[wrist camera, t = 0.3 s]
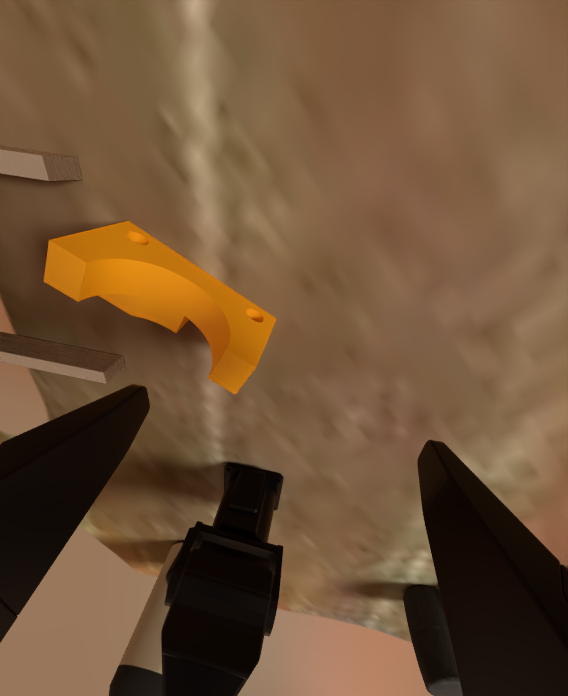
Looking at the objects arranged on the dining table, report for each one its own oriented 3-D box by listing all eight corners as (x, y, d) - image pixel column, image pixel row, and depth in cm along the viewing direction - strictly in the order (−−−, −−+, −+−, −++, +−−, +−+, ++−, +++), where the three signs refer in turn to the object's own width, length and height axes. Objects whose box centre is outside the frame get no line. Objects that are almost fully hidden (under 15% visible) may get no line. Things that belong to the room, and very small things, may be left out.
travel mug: (212, 543, 43) (142, 747, 28) (225, 568, 47) (171, 758, 32) (164, 537, 44) (75, 727, 29) (181, 562, 48) (110, 740, 33)
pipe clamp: (115, 271, 22) (40, 305, 16) (129, 220, 19) (49, 240, 14) (249, 355, 24) (223, 410, 18) (277, 317, 22) (256, 367, 16)
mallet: (668, 543, 27) (806, 698, 19) (684, 571, 29) (816, 725, 21) (393, 584, 41) (406, 686, 33) (415, 602, 42) (433, 703, 34)
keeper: (125, 366, 26) (106, 383, 24) (-24, 336, 28) (-54, 350, 25) (77, 157, 18) (41, 155, 16) (-138, 125, 19) (-198, 120, 17)
